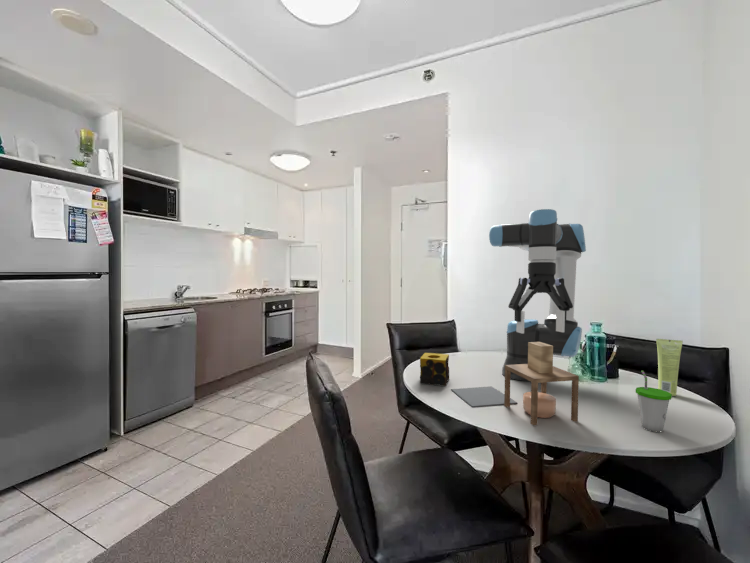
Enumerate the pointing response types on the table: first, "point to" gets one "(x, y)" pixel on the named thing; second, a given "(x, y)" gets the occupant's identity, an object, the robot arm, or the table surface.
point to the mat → (481, 396)
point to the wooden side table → (541, 377)
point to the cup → (652, 406)
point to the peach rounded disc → (541, 404)
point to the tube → (668, 364)
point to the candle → (434, 369)
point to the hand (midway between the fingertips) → (540, 332)
